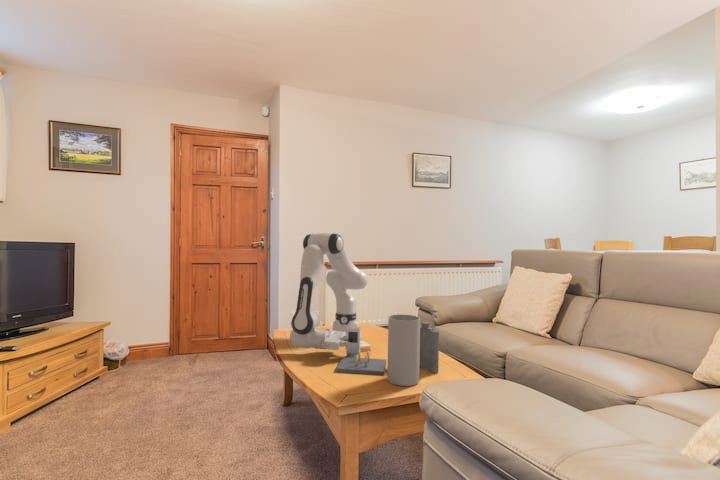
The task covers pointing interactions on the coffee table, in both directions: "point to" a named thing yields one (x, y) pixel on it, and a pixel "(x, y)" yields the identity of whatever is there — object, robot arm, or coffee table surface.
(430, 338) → the hip flask
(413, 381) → the cylinder vase
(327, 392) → the coffee table surface
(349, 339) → the drive
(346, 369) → the pin tray
